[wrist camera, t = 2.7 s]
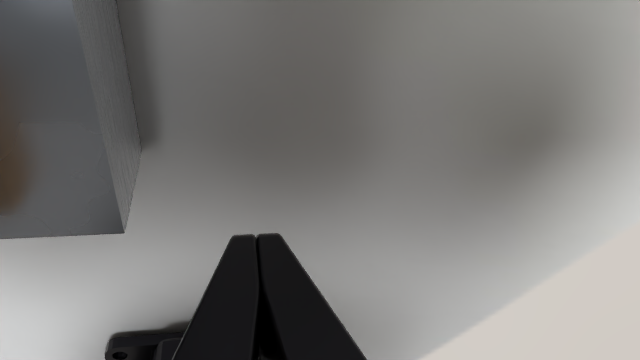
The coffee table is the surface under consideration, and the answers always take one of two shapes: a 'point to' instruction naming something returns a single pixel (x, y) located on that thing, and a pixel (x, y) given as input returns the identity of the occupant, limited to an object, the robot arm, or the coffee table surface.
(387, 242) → the coffee table surface
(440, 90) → the coffee table surface
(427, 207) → the coffee table surface
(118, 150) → the socket block
